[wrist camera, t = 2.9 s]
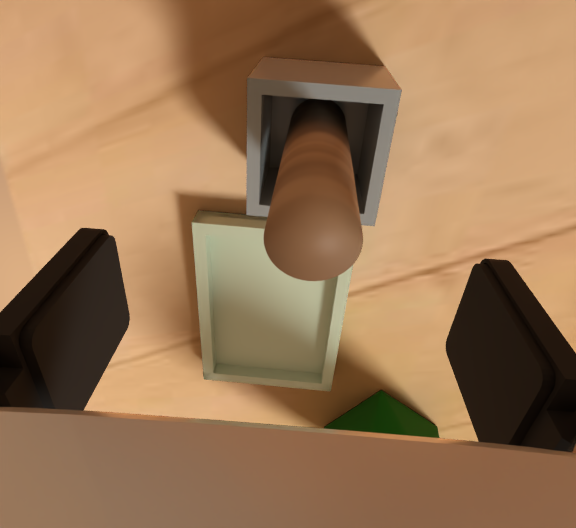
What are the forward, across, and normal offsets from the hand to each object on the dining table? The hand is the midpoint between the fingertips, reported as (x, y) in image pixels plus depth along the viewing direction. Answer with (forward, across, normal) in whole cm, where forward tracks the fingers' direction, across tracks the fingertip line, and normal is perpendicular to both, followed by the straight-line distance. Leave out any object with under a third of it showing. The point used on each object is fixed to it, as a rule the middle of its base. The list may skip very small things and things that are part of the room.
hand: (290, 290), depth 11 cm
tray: (+15, +1, +12) cm, 19 cm away
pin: (+14, -1, 0) cm, 14 cm away
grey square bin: (+15, -1, 0) cm, 15 cm away
